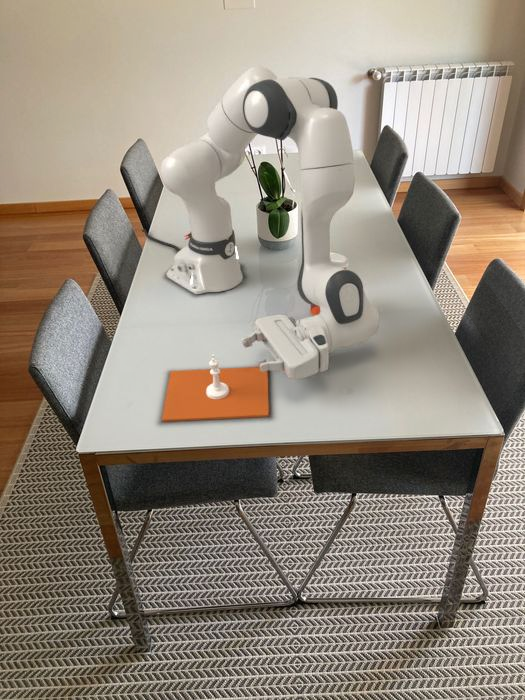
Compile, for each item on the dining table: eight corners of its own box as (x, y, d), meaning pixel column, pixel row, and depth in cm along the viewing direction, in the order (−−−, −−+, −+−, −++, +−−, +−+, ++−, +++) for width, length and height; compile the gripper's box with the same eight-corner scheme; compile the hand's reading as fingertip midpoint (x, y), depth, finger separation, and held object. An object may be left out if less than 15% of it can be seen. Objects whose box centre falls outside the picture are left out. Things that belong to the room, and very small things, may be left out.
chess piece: (229, 383, 131) (224, 346, 125) (229, 398, 127) (224, 361, 121) (206, 385, 131) (201, 348, 125) (205, 400, 127) (200, 362, 121)
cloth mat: (162, 421, 123) (161, 419, 123) (171, 373, 136) (170, 371, 136) (268, 416, 123) (268, 414, 123) (267, 368, 136) (267, 366, 135)
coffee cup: (312, 320, 146) (322, 262, 140) (301, 307, 153) (310, 250, 147) (343, 320, 149) (355, 263, 142) (331, 307, 156) (342, 252, 149)
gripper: (289, 302, 137) (233, 318, 133) (331, 350, 122) (268, 369, 118) (290, 325, 141) (235, 341, 137) (331, 374, 125) (270, 393, 122)
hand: (251, 354), depth 127 cm, fingers open, 8 cm apart
